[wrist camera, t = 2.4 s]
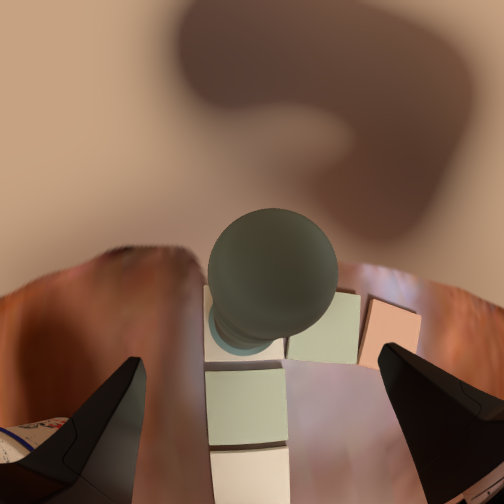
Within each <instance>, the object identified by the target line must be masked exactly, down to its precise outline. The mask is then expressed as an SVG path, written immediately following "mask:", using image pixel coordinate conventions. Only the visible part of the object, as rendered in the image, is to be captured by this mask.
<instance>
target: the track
mask: <svg viewBox="0 0 504 504" xmlns="http://www.w3.org/2000/svg"><path fill="white" fill-rule="evenodd" d="M212 304H213V299H212V295H211V292H210V289H209V285H204V352H205V362H230V361H257V360H274V359H284V348H283V338H279V339H277V340H274V341H273V343H272V344H271V345H270V346H269V347H268V348H266V349H265V350H264V351H262V352H260V353H257V354H254V355H250V356H237V355H233V354H230V353H228V352H226V351H224V350H223V349H222V348H220V347H219V346H218V345H217V343H216V342H215V341H214V339H213V337H212V335H211V332H210V329H209V323H208V318H209V312H210V308H211V306H212ZM421 317H422V316H419V315H417V314H414V313H411V312H409V311H406V310H403V309H400V308H398V307H395V306H392V305H389V304H387V303H384V302H381V301H379V300H376V299H372V300H370V304H369V309H368V314H367V318H366V323H365V328H364V332H363V336H362V340H361V345H360V349H359V353H358V356H357V352H358V339H359V322H360V295H354V294H347V293H341V292H335V295H334V298H333V300H332V302H331V304H330V306H329V308H328V309H327V311H326V312H325V313H324V315H323V316H322V317H321V318H320V319H319V320H318V321H317V322H316V323H315V324H314V325H312V326H311V327H309V328H308V329H306V330H305V331H303V332H301V333H299V334H296V335H293V336H290V337H288V343H287V351H286V358H285V359H291V360H300V361H312V362H324V363H340V364H355V365H359V366H363V367H367V368H371V369H375V370H379V371H380V369H379V366H378V362H377V360H378V356H379V354H380V352H381V349H382V347H383V345H384V344H385V343H390V342H395V343H396V344H398V345H400V346H402V347H403V348H405V349H407V350H409V351H410V352H412V353H414V354H416V349H417V343H418V337H419V331H420V324H421ZM205 382H206V402H207V419H208V434H209V445H236V444H253V443H265V442H275V441H283V440H288V423H287V402H286V383H285V368H279V369H266V370H247V371H205ZM210 458H211V469H212V479H213V489H214V498H215V504H290V479H289V448H288V447H287V446H282V447H274V448H264V449H252V450H235V451H210Z"/></svg>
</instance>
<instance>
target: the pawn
mask: <svg viewBox="0 0 504 504" xmlns="http://www.w3.org/2000/svg"><path fill="white" fill-rule="evenodd" d="M337 283H338V265H337V259H336V255H335V252H334V249H333V247H332V245H331V243H330V241H329V239H328V238H327V236H326V235H325V233H324V232H323V231H322V230H321V229H320V228H319V227H318V226H317V225H316V224H315V223H314V222H312V221H311V220H309V219H308V218H306V217H305V216H303V215H301V214H298V213H296V212H292V211H289V210H285V209H276V208H270V209H261V210H257V211H254V212H251V213H248V214H246V215H244V216H241V217H240V218H238V219H237V220H235V221H234V222H233V223H232V224H230V225H229V226H228V227H227V228H226V229H225V230H224V231H223V232H222V234H221V235H220V237H219V238H218V239H217V241H216V243H215V245H214V247H213V249H212V252H211V255H210V259H209V264H208V284H209V289H210V292H211V295H212V299H213V304H212V306H211V308H210V312H209V318H208V323H209V329H210V332H211V335H212V337H213V339H214V341H215V342H216V343H217V345H218V346H219V347H220V348H222V349H223V350H224V351H226V352H228V353H230V354H233V355H237V356H250V355H254V354H257V353H260V352H262V351H264V350H265V349H266V348H268V347H269V346H270V345H271V344H272V343H273V341H274V340H277V339H279V338H286V337H290V336H293V335H296V334H299V333H301V332H303V331H305V330H306V329H308V328H309V327H311V326H312V325H314V324H315V323H316V322H317V321H318V320H319V319H320V318H321V317H322V316H323V315H324V313H325V312H326V311H327V309H328V308H329V306H330V304H331V302H332V300H333V298H334V295H335V292H336V288H337Z"/></svg>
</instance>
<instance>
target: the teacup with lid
mask: <svg viewBox="0 0 504 504" xmlns="http://www.w3.org/2000/svg"><path fill="white" fill-rule="evenodd" d="M68 419H69V418H64V417H58V418H52V419H48V420H44V421H39V422H35V423H30V424H25V425H20V426H15V427H9V428H1V427H0V463H10V462H15V461H18V460H20V459H22V458H24V457H25V456H26V455H28V454H29V453H30V452H32V451H33V450H34V449H35V448H37V447H38V446H39V445H40V444H42V443H43V442H44V441H45V440H46V439H48V438H49V437H50V436H51V435H52V434H53V433H55V432H56V431H57V430H58V429H59V428H60V427H61V426H62V425H63V424H64V423H65V422H66V421H67V420H68Z"/></svg>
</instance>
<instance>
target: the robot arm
mask: <svg viewBox="0 0 504 504" xmlns="http://www.w3.org/2000/svg"><path fill="white" fill-rule="evenodd" d="M377 362H378V366H379V369H380V372H381V376H382V379H383V382H384V385H385V389H386V392H387V394H388V397H389V400H390V402H391V404H392V407H393V409H394V411H395V414H396V416H397V419H398V421H399V424H400V426H401V429H402V431H403V434H404V437H405V439H406V442H407V444H408V447H409V450H410V452H411V455H412V458H413V461H414V463H415V466H416V469H417V472H418V475H419V478H420V481H421V484H422V487H423V490H424V493H425V497H426V500H427V503H428V504H445V503H446V502H448V501H450V500H451V499H453V498H455V497H456V496H458V495H459V494H461V493H462V495H463V497H464V498H463V499H462V500H461V501H459V502H458V503H456V504H504V400H501V399H499V398H497V397H494V396H492V395H490V394H488V393H485V392H483V391H481V390H479V389H477V388H475V387H473V386H471V385H469V384H467V383H465V382H464V381H462V380H459V379H458V378H456V377H455V376H453V375H451V374H449V373H447V372H446V371H444V370H442V369H440V368H439V367H437V366H435V365H433V364H432V363H430V362H428V361H426V360H425V359H423V358H421V357H419V356H417V355H416V354H414V353H412V352H410V351H409V350H407V349H405V348H403V347H402V346H400V345H398V344H396V343H395V342H390V343H385V344H384V345H383V347H382V349H381V352H380V354H379V356H378V360H377ZM146 379H147V376H146V371H145V368H144V364H143V361H142V359H141V358H140V357H129V358H128V359H127V360H126V361H125V362H124V363H123V364H122V365H121V366H120V367H119V368H118V369H117V370H116V371H115V372H114V373H113V374H112V375H111V376H110V377H109V378H108V379H107V380H106V381H105V382H104V383H103V384H102V385H101V386H100V387H99V388H98V389H97V390H96V391H95V392H94V393H93V394H92V395H91V396H90V397H89V399H88V400H87V401H86V402H85V403H84V404H83V405H82V406H81V407H80V408H79V409H78V410H77V411H76V412H75V413H74V414H73V415H72V417H70V418H69V419H68V420H67V421H66V422H65V423H64V424H63V425H62V426H61V427H60V428H59V429H58V430H57V431H56V432H55V433H53V434H52V435H51V436H50V437H49V438H48V439H46V440H45V441H44V442H43V443H42V444H40V445H39V446H38V447H37V448H35V449H34V450H33V451H32V452H30V453H29V454H28V455H26V456H25V457H24V458H22V459H20V460H18V461H15V462H10V463H0V504H131V503H132V493H133V484H134V476H135V469H136V462H137V455H138V448H139V442H140V436H141V430H142V424H143V418H144V408H145V392H146Z"/></svg>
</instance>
